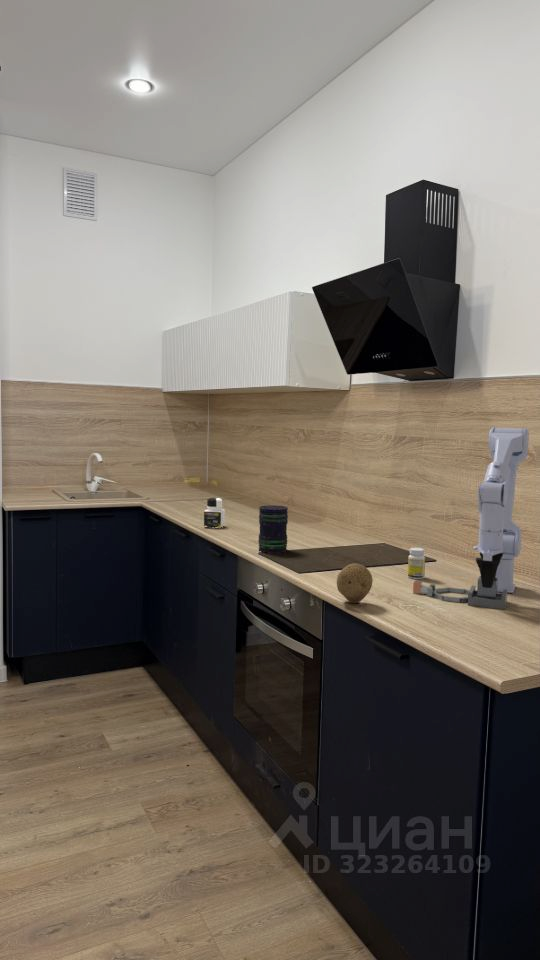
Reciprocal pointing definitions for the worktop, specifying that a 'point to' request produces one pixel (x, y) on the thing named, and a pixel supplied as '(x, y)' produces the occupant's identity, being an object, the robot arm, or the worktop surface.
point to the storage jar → (273, 529)
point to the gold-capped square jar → (487, 590)
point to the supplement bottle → (416, 563)
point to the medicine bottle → (214, 513)
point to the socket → (435, 592)
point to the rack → (484, 602)
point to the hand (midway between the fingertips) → (488, 584)
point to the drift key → (420, 588)
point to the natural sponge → (354, 582)
